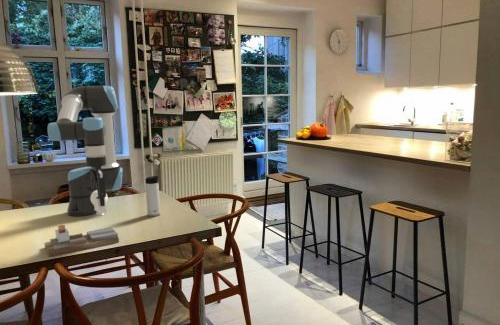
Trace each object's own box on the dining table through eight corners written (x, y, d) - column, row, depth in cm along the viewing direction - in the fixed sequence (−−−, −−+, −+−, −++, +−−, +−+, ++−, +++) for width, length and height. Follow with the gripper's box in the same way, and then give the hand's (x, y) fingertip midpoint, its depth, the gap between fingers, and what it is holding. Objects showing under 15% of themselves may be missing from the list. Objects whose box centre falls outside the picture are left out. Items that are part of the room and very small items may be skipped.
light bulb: (112, 215, 169) (110, 189, 167) (97, 219, 164) (94, 192, 163) (104, 213, 173) (101, 187, 172) (89, 216, 169) (86, 190, 167)
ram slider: (56, 242, 163) (54, 225, 162) (67, 239, 166) (65, 223, 164) (59, 246, 158) (57, 229, 157) (70, 244, 161) (68, 227, 160)
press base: (44, 247, 164) (44, 239, 164) (110, 234, 178) (110, 226, 178) (49, 256, 154) (48, 248, 154) (118, 242, 168) (118, 234, 168)
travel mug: (157, 217, 203) (155, 177, 199) (145, 216, 204) (142, 177, 201) (162, 213, 209) (160, 174, 206) (150, 213, 210) (148, 174, 207)
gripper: (80, 154, 171) (85, 208, 174) (91, 159, 155) (96, 218, 158) (99, 152, 175) (103, 205, 178) (111, 157, 159) (116, 215, 163)
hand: (100, 211), depth 168 cm, fingers closed on light bulb, 6 cm apart
